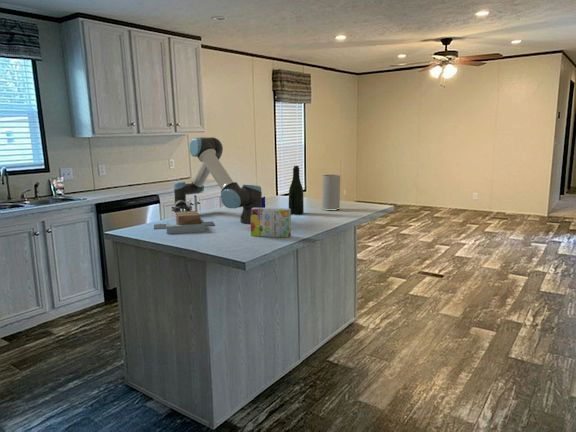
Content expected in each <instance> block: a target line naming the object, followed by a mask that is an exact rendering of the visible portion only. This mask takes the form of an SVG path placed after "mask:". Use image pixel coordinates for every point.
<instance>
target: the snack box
mask: <svg viewBox="0 0 576 432" xmlns="http://www.w3.org/2000/svg"><path fill="white" fill-rule="evenodd" d="M291 221H292V214H291V209H289V208H285V207H284V208H283V207H282V208H278V207H265V208H252V209H251V224H250V236H251V237H271V238H287V239H288V238H290V237H291V236H292V235H291V234H292V233H291V231H292V229H291V228H292V227H291V225H292V224H291V223H292V222H291Z"/></svg>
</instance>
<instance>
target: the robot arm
mask: <svg viewBox="0 0 576 432" xmlns="http://www.w3.org/2000/svg"><path fill="white" fill-rule="evenodd" d="M223 148H224V147H223V144H222V142H221V140H220V139H218V138H216V137H213V136H212V137H205V136H204V137H200V136H198V137H194V138H192V139H191V140H190V142H189V153H190V155H191V157H193V158H195V157H197V158H198V160H199V162H201V165H200V166H199V169H198V170H197V173H196V174H195V176H194V178H193V180H192V181H191V182H190V183H186V182H185V181H183V180H182V181H181V180H179V181H174V184H173V190H174V206H171V212H173V213H175V214H176V212H182V211H193V206H192V205H190V206H188V205H187V199H186V198H187V196H188V195H197V194H198V195H199V194H202V193H203V192H204V191H205V185H204V184H205V183H206V181H207V179H208V177H209V176H210V175H212V177H213V179H214V181H215V182H216V183H217V185H218V187H219V188H220V200H221V203H222V205H223V206H224V207H225V208H227V209H237V208H242V211H241V215H240V218H239V219H240V223H241V224H249V225H251V209H252V208H262V195H263V194H262V187H261V186H260V185H253V184H242V187H240V185H239V184H238V182H236V181H233V179H232V178H231V176H230V175H229V173H228V172H227V170H226V169H225V167H224V165H223V164H222V163H221V161H220V159H221V157H222V154H223V151H224V149H223Z"/></svg>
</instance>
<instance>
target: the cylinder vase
mask: <svg viewBox="0 0 576 432" xmlns="http://www.w3.org/2000/svg"><path fill="white" fill-rule="evenodd" d="M321 196H322V200H321V201H322V204H321V205H322V206H321V208H324V209H337V208H340V205H341V203H340V201H341V199H340V198H341V197H340V196H341V175H340V174H323V175H322V195H321Z"/></svg>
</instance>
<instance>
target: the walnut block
mask: <svg viewBox="0 0 576 432" xmlns="http://www.w3.org/2000/svg"><path fill="white" fill-rule="evenodd" d="M200 220H201V214H200V213H199V212H198V211H197V210H191V211H182V212H176V213H175V222H176V224H175V225H186V224H201V222H200Z"/></svg>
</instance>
